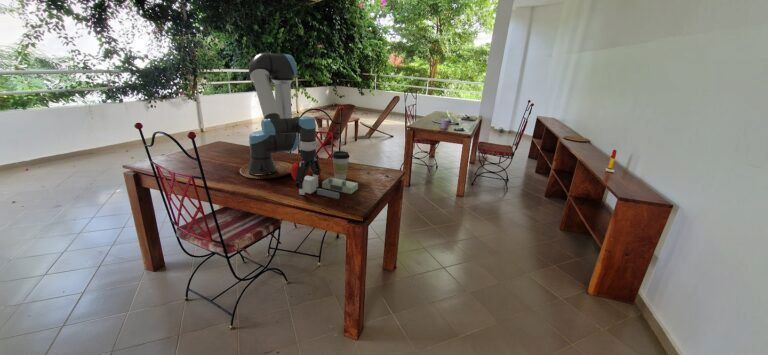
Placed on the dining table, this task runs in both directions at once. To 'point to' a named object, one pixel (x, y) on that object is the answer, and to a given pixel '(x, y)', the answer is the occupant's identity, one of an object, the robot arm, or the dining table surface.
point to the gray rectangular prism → (309, 184)
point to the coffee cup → (340, 164)
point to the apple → (294, 170)
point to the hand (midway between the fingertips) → (308, 190)
